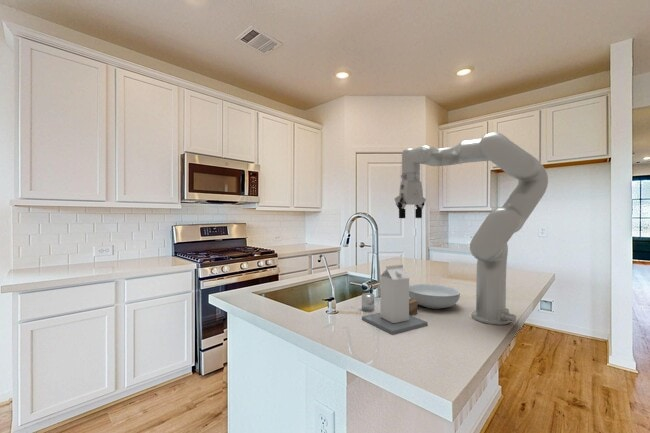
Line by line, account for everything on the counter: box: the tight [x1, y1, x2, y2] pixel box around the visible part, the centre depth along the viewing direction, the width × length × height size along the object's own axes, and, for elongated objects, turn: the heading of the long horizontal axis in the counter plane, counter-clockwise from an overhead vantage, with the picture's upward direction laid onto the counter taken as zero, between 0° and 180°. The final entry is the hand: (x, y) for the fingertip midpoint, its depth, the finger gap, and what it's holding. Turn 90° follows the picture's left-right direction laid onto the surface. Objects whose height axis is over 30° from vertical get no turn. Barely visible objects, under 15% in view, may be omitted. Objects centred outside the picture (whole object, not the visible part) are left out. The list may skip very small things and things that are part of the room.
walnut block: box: [409, 298, 419, 316], centre depth 121 cm, size 5×5×5 cm
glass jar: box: [361, 292, 375, 313], centre depth 125 cm, size 5×5×6 cm
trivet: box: [361, 312, 429, 336], centre depth 111 cm, size 16×16×1 cm
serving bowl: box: [409, 283, 461, 310], centre depth 131 cm, size 21×21×7 cm
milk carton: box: [379, 264, 410, 323], centre depth 111 cm, size 7×7×19 cm
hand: (410, 218), depth 135 cm, fingers open, 9 cm apart
